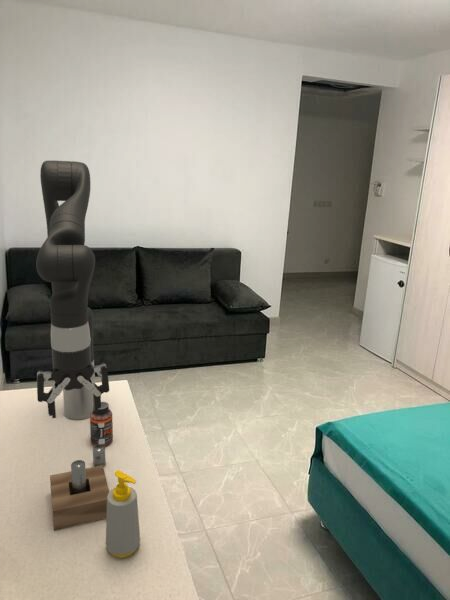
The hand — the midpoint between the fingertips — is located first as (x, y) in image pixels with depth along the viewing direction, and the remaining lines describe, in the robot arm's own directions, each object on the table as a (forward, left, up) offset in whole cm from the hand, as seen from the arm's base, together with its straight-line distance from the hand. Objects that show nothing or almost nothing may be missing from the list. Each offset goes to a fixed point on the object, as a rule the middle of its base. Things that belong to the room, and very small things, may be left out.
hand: (75, 412), depth 103 cm
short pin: (-13, +6, -24) cm, 28 cm away
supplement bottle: (-23, +8, -24) cm, 34 cm away
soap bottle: (+15, +7, -24) cm, 29 cm away
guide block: (0, 0, -24) cm, 24 cm away
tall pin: (0, 0, -24) cm, 24 cm away
